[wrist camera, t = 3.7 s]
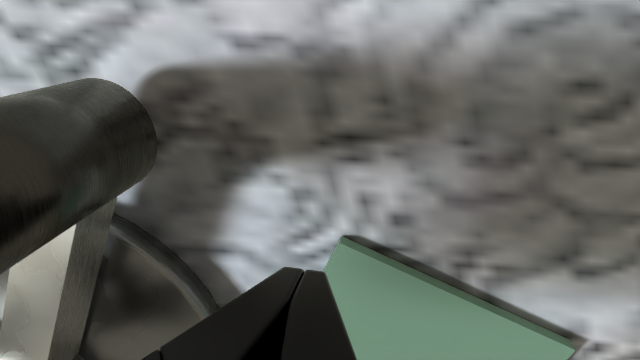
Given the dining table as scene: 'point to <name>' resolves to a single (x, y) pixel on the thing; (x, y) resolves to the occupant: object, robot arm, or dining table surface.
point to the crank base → (137, 297)
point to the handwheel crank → (62, 205)
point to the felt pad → (426, 315)
